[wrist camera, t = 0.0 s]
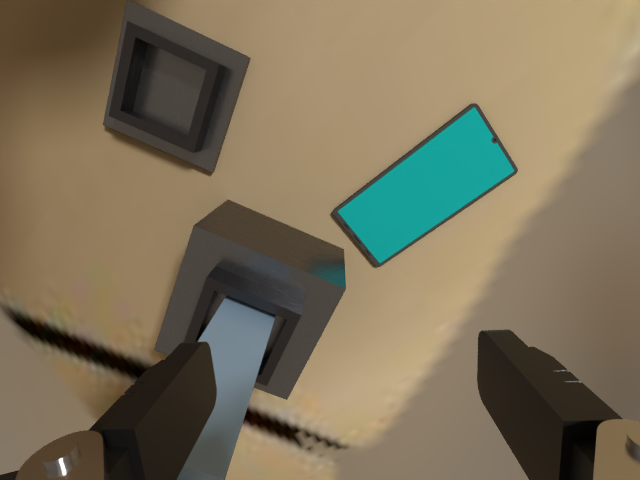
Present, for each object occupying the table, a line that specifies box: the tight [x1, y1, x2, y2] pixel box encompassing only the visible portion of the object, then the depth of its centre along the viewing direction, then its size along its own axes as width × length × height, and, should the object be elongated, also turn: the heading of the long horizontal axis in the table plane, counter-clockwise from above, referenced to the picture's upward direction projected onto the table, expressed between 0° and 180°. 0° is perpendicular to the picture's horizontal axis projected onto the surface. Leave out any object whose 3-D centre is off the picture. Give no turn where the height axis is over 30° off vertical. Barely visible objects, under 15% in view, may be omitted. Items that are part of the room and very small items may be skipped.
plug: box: [177, 295, 276, 480], centre depth 19 cm, size 4×4×16 cm
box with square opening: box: [154, 200, 346, 400], centre depth 30 cm, size 12×12×10 cm
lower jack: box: [103, 0, 250, 172], centre depth 27 cm, size 10×10×2 cm
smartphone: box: [333, 104, 518, 267], centre depth 30 cm, size 7×1×15 cm
